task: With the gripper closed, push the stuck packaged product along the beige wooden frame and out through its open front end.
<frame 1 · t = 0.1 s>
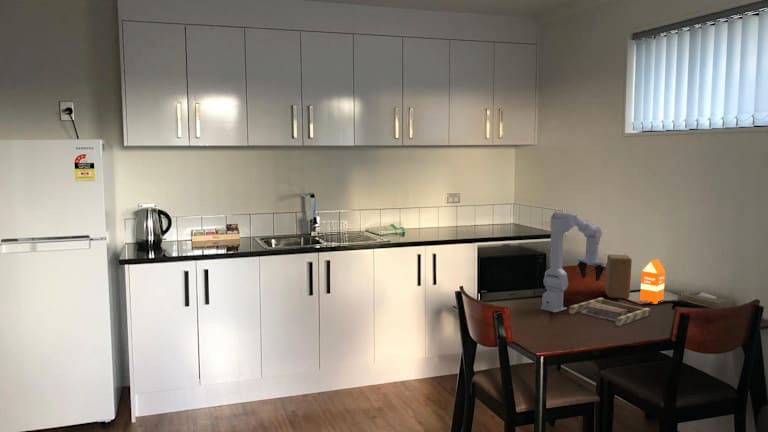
hand: (590, 279, 300), 10 cm above the table, tool pointing down, fingers open, 7 cm apart
wooden block: (617, 296, 308), on the table
packaged product: (604, 317, 274), on the table
orange juice: (651, 301, 300), on the table
beige wooden frame: (606, 314, 275), on the table
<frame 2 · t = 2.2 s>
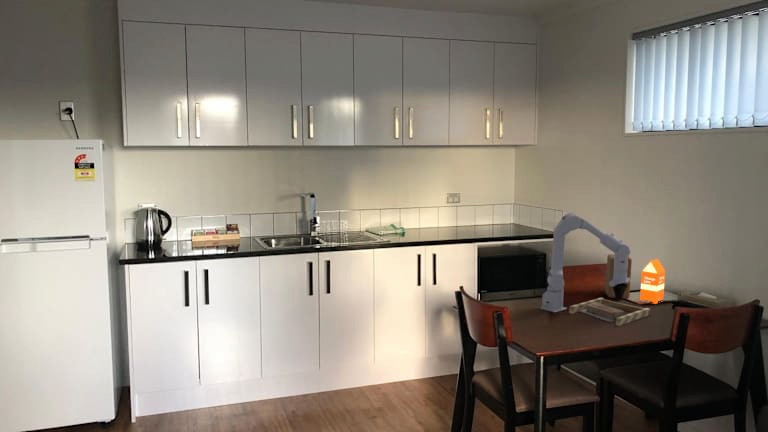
hand: (618, 299, 280), 5 cm above the table, tool pointing down, fingers closed
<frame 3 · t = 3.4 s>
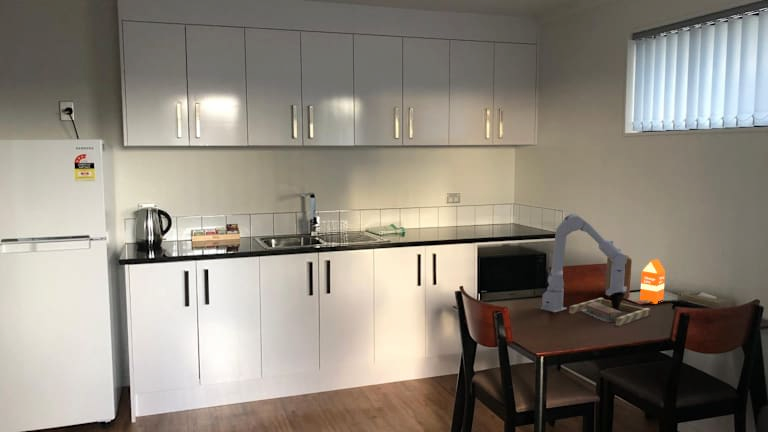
hand: (615, 308, 279), 2 cm above the table, tool pointing down, fingers closed
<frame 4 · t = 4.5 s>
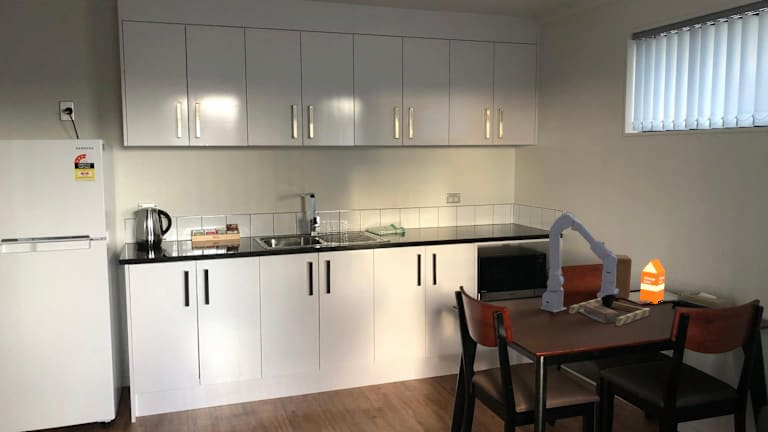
hand: (607, 311, 275), 2 cm above the table, tool pointing down, fingers closed, pressing on packaged product
packaged product: (599, 317, 272), on the table, touching gripper
everything else where it was.
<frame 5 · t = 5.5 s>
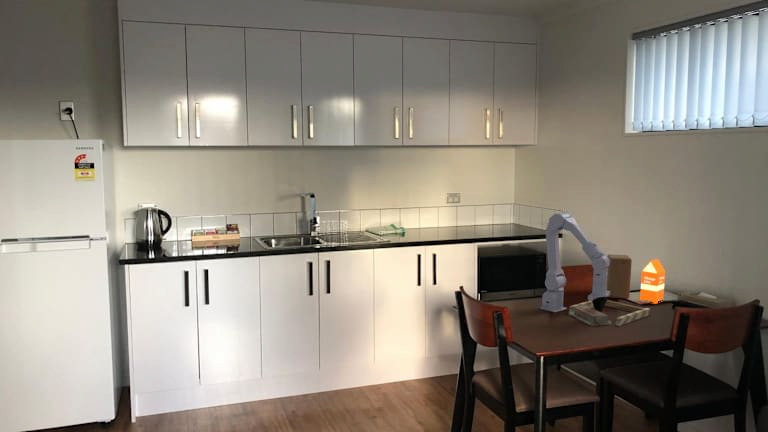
hand: (598, 314, 270), 2 cm above the table, tool pointing down, fingers closed
packaged product: (589, 320, 268), on the table
everything else where it was.
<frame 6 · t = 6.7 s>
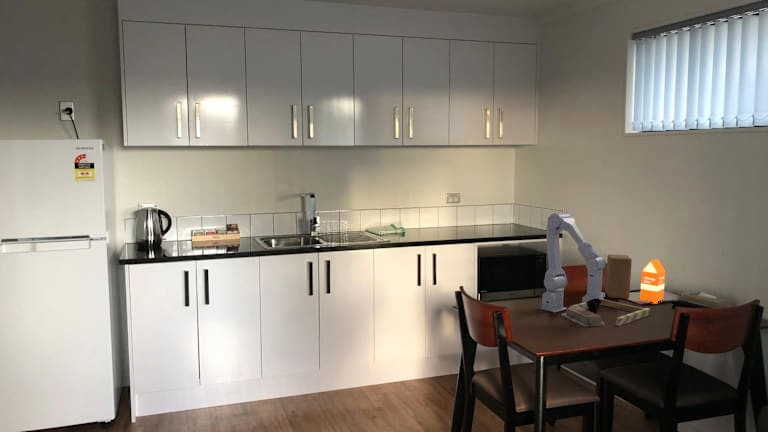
hand: (592, 315, 267), 2 cm above the table, tool pointing down, fingers closed
packaged product: (582, 321, 267), on the table
everything else where it was.
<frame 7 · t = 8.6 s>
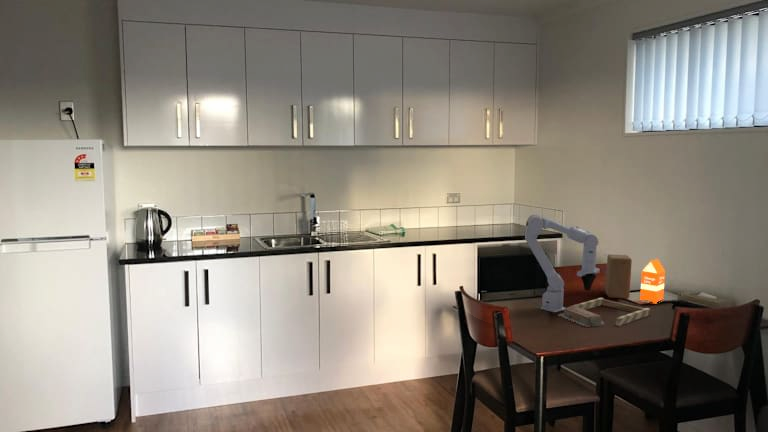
hand: (587, 290, 280), 9 cm above the table, tool pointing down, fingers closed
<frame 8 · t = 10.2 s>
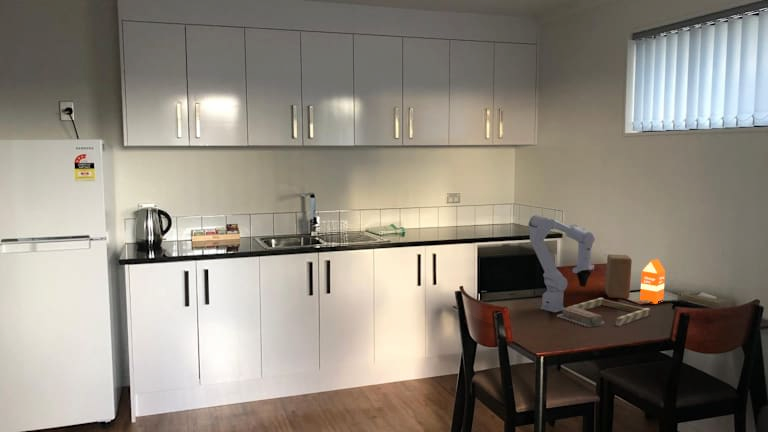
hand: (582, 286, 287), 9 cm above the table, tool pointing down, fingers closed
at the end: packaged product inside the target area on the table beside the beige wooden frame (3.9 cm from its centre), on the table; packaged product tilted 0°; packaged product moved 15.6 cm from its start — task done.
